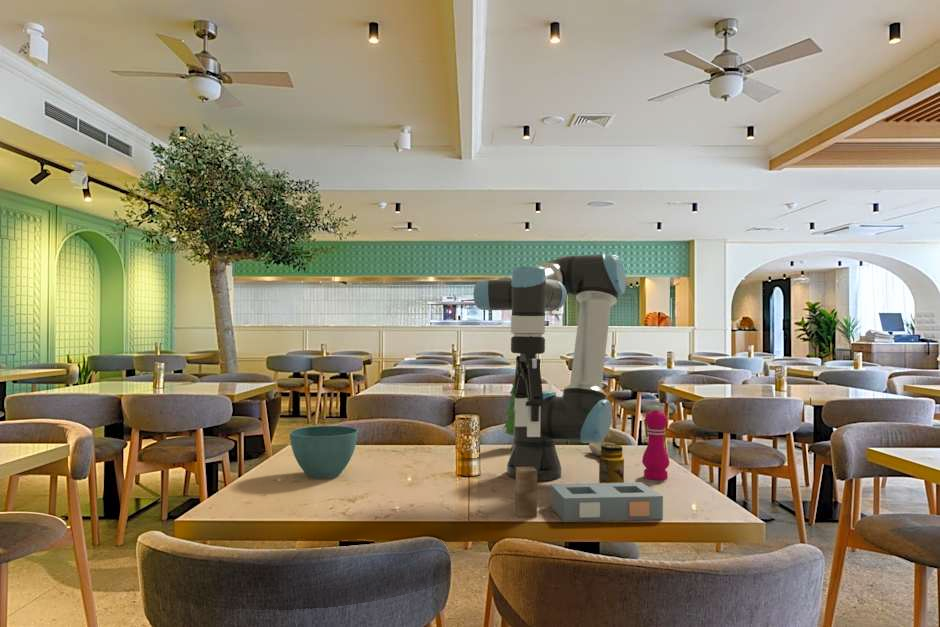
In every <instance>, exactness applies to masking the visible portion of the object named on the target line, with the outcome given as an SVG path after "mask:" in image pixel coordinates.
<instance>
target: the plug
mask: <svg viewBox="0 0 940 627" xmlns="http://www.w3.org/2000/svg"><path fill="white" fill-rule="evenodd" d="M514 503H515V511H514V512H515V513H516V514H517V515H516V516H518V518H537V517H538V516H537V515H538V481H537V470H536V469H535V468H534V467H516V478H515V502H514Z"/></svg>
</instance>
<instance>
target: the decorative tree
mask: <svg viewBox="0 0 940 627" xmlns="http://www.w3.org/2000/svg"><path fill="white" fill-rule="evenodd" d="M514 381H515V379H514V380H513V382H512V384H511V385H512V387H511V390H510V392H509V394H510V395H511V396H510V397H509V401H508V402H507V404H510V406H509V407H508V410H507V413H506V416H508V418H507V420H506V422H505V424H504V426H503V427H504V428H505V429H506V430H505V434H506V435H510V436H514V411H513V409H514V400H515V394H514V393H513V390H514ZM513 446H514V442H513V443H512V445H511V448H512V449H513ZM511 448H510V449H511ZM512 449H511V450H512Z"/></svg>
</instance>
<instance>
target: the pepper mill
mask: <svg viewBox="0 0 940 627" xmlns="http://www.w3.org/2000/svg"><path fill="white" fill-rule="evenodd" d="M644 423H645V425H646V426H647V427H646V434H648V443H647V446H646V448H645V451H643V452H644V453H643V455H642V461H641V463H642V465H643V466H644V468H645V469H644V471H643V477H644V478H646V479H647V480H655V481H663V480H667V479H668V470H667V468H669V466H670V457H669V454H668V452H667V450H666V448H665V444H664V437H665V436H664V435H666V428H665V427H666V426H667V424H668V417H667V415H666V414H665V412H663V411H661V410H660V406H659V405H657V404H655V405H653V407H652V410H651V411H649V412H647V413H646V414H645V417H644Z"/></svg>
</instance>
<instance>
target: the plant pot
mask: <svg viewBox="0 0 940 627" xmlns="http://www.w3.org/2000/svg"><path fill="white" fill-rule="evenodd" d="M358 434H359V430H358V429H357V428H355V427H352V426H344V425H343V426H340V425H317V426H316V425H315V426H314V425H313V426H306V427H300V428H296V429H292V430H290V431H289V442H290V445H291V448H292V449H291V450H292V453H293V456H294V458H295V460H296V462H297V464H298V465H299V467H300V468H301V470H302V471H303V473H304V474H305V475H306V476H307V477H309V478H310V479H314V480H315V479H318V480H326V479H333V478H336V477H338V476H340V475H341V474H342V472H343V471H345V469H346V467H347V466H348V464H349V462H350V461H351V459H352V457H353V454H354V452H355V450H356V446H357V442H358V441H357V440H358V437H359V436H358Z"/></svg>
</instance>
